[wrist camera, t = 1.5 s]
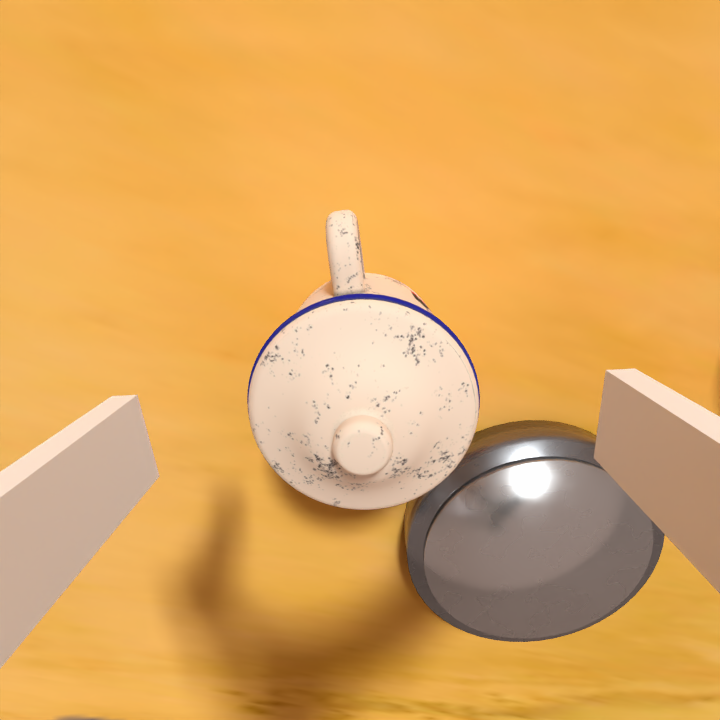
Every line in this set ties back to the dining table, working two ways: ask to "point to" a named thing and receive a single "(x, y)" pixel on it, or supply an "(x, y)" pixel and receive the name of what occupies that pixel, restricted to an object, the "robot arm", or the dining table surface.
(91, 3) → the dining table surface
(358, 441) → the teacup with lid
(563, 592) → the dark gray round plate
